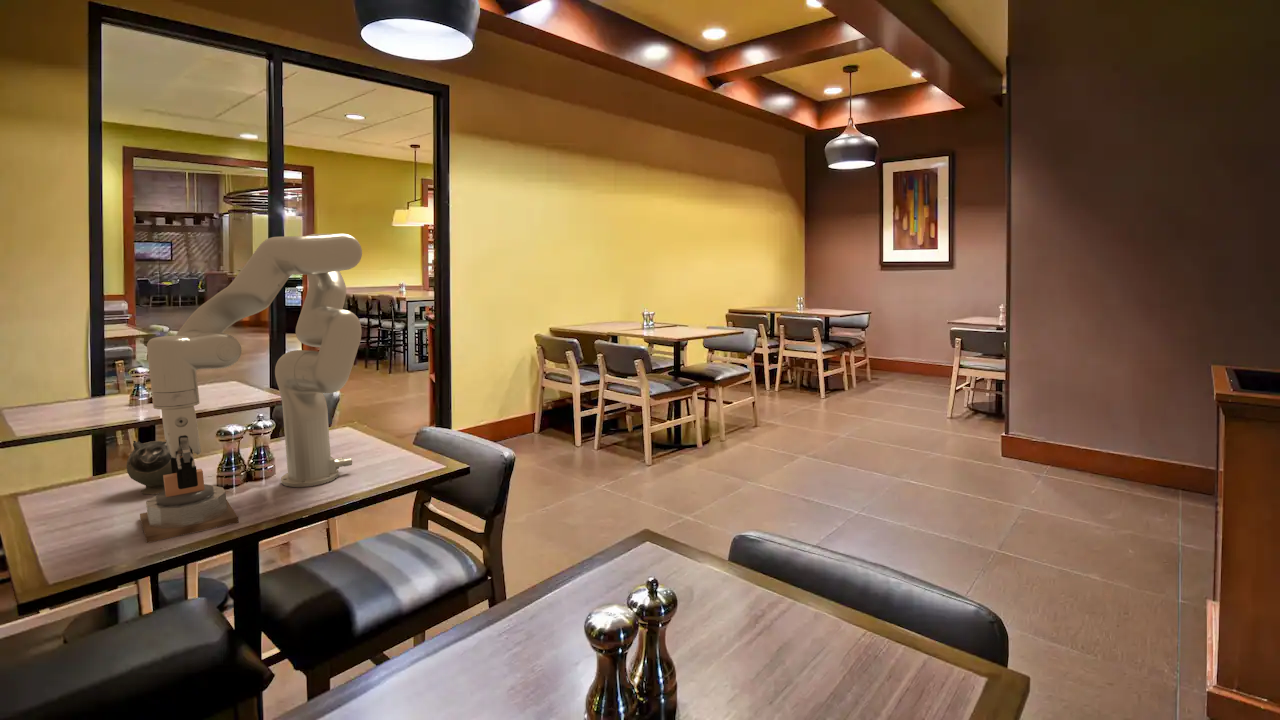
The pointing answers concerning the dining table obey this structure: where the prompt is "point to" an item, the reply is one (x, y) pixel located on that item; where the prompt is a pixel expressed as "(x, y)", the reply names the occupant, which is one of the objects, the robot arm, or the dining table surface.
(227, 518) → the mount plate
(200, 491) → the multicoloured piece
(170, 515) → the grey stone basin
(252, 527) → the dining table surface
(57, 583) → the dining table surface
